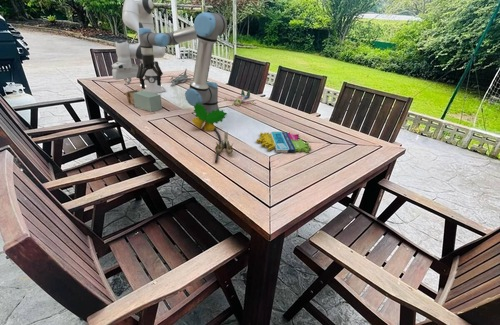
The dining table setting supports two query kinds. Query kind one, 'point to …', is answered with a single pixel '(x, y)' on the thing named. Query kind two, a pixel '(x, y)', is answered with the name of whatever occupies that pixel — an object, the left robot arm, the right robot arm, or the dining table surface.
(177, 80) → the airplane
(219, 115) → the ornament
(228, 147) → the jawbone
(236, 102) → the toy
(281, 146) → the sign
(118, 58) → the left robot arm
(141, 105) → the grey-green rectangular block
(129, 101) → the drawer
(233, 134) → the dining table surface
